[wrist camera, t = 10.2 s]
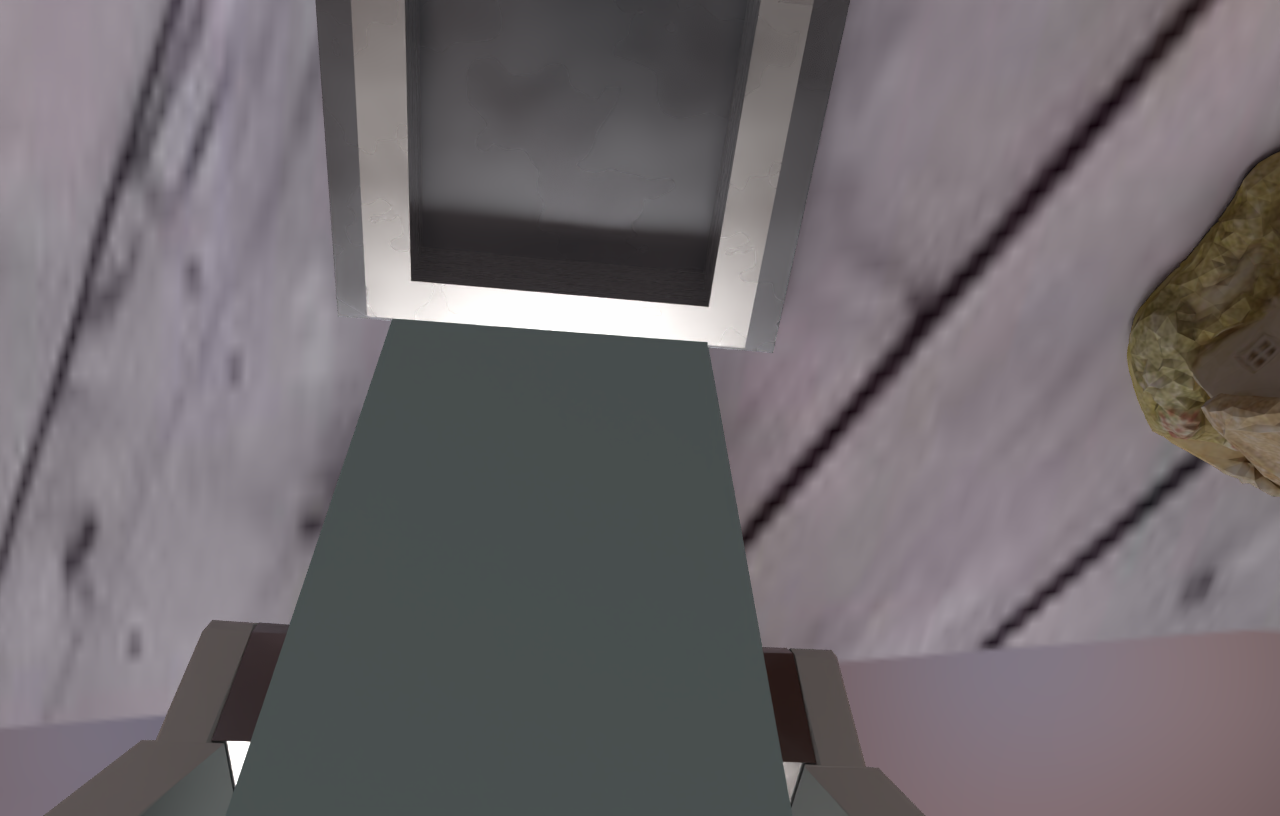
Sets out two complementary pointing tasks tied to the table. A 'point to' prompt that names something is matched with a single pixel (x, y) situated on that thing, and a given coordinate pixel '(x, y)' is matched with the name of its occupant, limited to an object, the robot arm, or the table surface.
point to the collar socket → (574, 160)
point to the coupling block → (525, 595)
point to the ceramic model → (1220, 341)
